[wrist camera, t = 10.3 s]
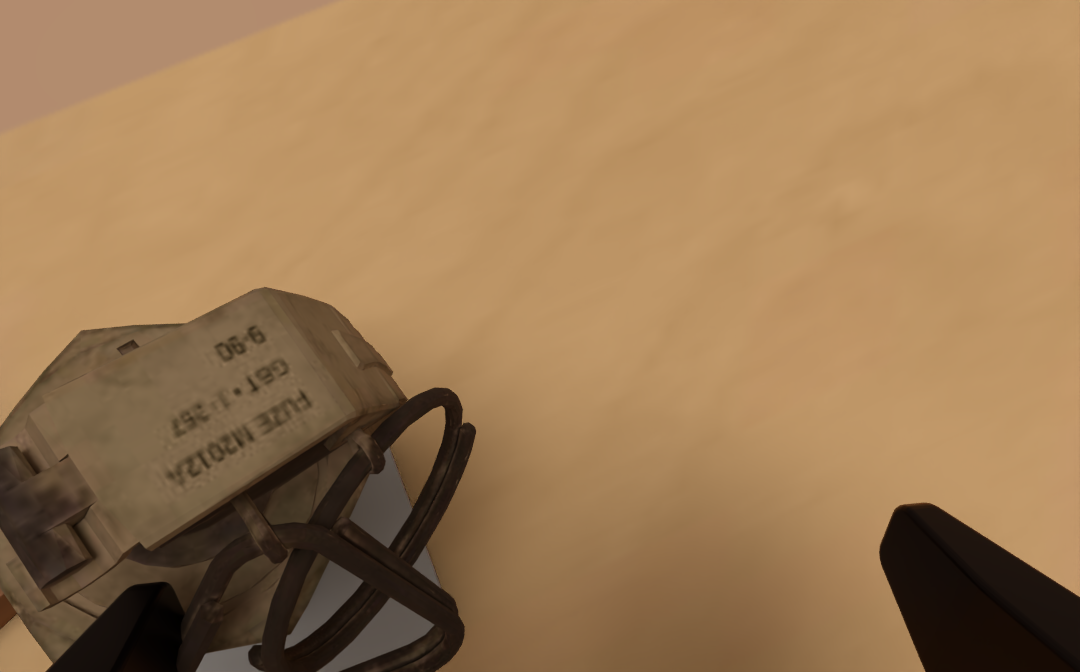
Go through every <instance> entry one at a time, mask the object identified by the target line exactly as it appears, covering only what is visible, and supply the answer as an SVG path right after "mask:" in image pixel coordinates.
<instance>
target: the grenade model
mask: <svg viewBox="0 0 1080 672" xmlns="http://www.w3.org/2000/svg"><path fill="white" fill-rule="evenodd" d="M392 373H393V371H392V370H391V368H390V367H389V366H388V364H387V363H386V362H385V360H384V359H383V358H382V356H381V355H380V354H379V353H378V352H376V351H375V349H374V348H373V346H372V345H370V344H369V343H368V342H366V341H365V340H364V338H363V337H362V336H361V334H360V333H359V332H358V331H357V330H356V329H355V328H354V327H353V326H352V324H351V323H350V322H349V320H348V319H347V318H346V317H344V316H343V315H342V314H341V313H340V312H338V311H337V310H336V309H335V308H334V307H333V306H331V305H329V304H327V303H324V302H321V301H318V300H315V299H312V298H309V297H306V296H302V295H298V294H293V293H289V292H285V291H280V290H276V289H271V288H267V287H264V288H259V289H254V290H252V291H250V292H248V293H246V294H244V295H242V296H240V297H238V298H236V299H234V300H232V301H230V302H228V303H226V304H224V305H222V306H220V307H218V308H216V309H214V310H212V311H210V312H208V313H206V314H204V315H202V316H200V317H198V318H196V319H194V320H192V321H190V322H188V323H184V324H155V325H132V326H122V327H112V328H102V329H93V330H83V331H80V333H79V334H78V335H77V336H76V337H75V338H74V339H73V340H72V341H71V342H70V343H69V344H68V345H67V347H66V348H65V349H64V350H63V351H62V352H61V353H60V354H59V355H58V356H57V357H56V358H55V360H54V361H53V362H52V363H51V364H50V365H49V366H48V367H47V368H46V369H45V370H44V371H43V373H42V374H41V375H40V376H39V378H38V379H37V380H36V381H35V383H34V384H33V385H32V386H31V388H30V389H29V390H28V391H27V393H26V394H25V395H24V396H23V398H22V399H21V400H20V401H19V403H18V404H17V405H16V406H15V408H14V409H13V410H12V412H11V413H10V414H9V416H8V417H7V418H6V420H5V421H4V423H3V424H2V425H1V427H0V589H1V590H2V592H3V593H4V595H5V596H6V598H7V599H8V601H9V602H10V603H11V605H12V606H13V608H14V609H15V611H16V612H17V614H18V615H19V617H20V618H21V620H22V621H23V623H24V624H25V626H26V627H27V629H28V630H29V632H30V633H31V634H32V636H33V637H34V638H35V640H36V641H37V642H38V644H39V645H40V646H41V648H42V649H43V650H44V652H45V653H46V654H47V656H48V657H49V658H50V660H51V661H52V662H53V663H54V662H55V661H56V660H57V659H58V658H59V657H60V656H61V655H62V654H63V653H64V652H65V651H66V650H67V649H68V648H69V647H70V646H71V645H72V644H73V643H74V642H75V641H76V640H77V639H78V638H79V637H80V636H81V634H82V633H83V632H84V631H85V630H86V629H87V628H88V627H89V626H90V625H91V624H92V623H93V622H94V621H95V620H96V619H97V618H98V617H99V616H100V615H101V614H102V613H103V612H104V611H105V610H106V609H107V608H108V607H109V606H110V605H111V604H112V603H113V601H114V600H115V599H116V598H117V597H118V596H119V595H120V594H121V593H122V592H123V591H124V590H126V589H127V588H129V587H130V586H132V585H136V584H143V583H152V582H167V583H169V584H170V585H172V587H173V588H174V590H175V592H176V595H177V597H178V599H179V601H180V603H181V605H182V608H183V610H184V612H185V615H184V617H183V619H182V622H181V638H182V644H181V646H180V648H179V650H178V656H177V663H176V666H177V670H178V672H196V670H197V668H198V667H199V665H200V663H201V661H202V659H203V657H204V655H205V654H206V653H211V652H216V651H222V650H227V649H232V648H237V647H242V646H248V645H253V644H258V643H262V645H253V646H252V648H251V649H250V650H249V652H248V660H249V662H250V665H252V666H253V667H255V668H256V669H258V670H259V671H263V672H317V671H319V670H320V669H321V668H323V667H324V666H325V665H327V664H328V663H329V662H331V661H332V660H333V659H334V658H335V657H336V656H337V655H339V654H340V653H341V652H342V651H343V650H344V649H345V648H346V647H347V646H348V645H349V644H351V643H352V642H353V641H354V640H355V638H356V637H357V636H358V635H359V634H360V633H361V632H362V630H363V629H364V628H365V627H366V626H367V625H368V624H369V622H370V621H371V620H372V619H373V618H374V617H375V616H376V615H377V613H378V612H379V611H380V610H381V609H382V607H383V606H384V605H385V604H386V602H387V601H388V600H389V598H392V599H394V600H395V601H397V602H398V603H400V604H402V605H403V606H405V607H407V608H408V609H410V610H411V611H413V612H415V613H416V614H418V615H419V616H421V617H423V618H424V619H426V620H428V621H429V622H431V623H432V624H434V626H433V627H432V628H431V629H430V630H429V631H428V632H427V633H426V635H424V636H422V637H420V638H419V639H417V640H415V641H413V642H412V643H410V644H408V645H405V646H403V647H400V648H398V649H395V650H393V651H390V652H387V653H385V654H382V655H380V656H377V657H375V658H372V659H370V660H367V661H365V662H362V663H359V664H357V665H354V666H352V667H349V668H347V669H344V670H342V671H339V672H435V671H437V670H438V669H439V668H441V667H442V666H443V665H445V664H446V663H448V662H449V661H450V660H451V659H452V658H453V657H454V655H455V654H456V653H457V651H458V650H459V648H460V647H461V645H462V642H463V639H464V624H463V622H462V621H461V619H460V617H459V616H458V609H457V606H456V602H455V600H454V599H453V598H452V597H451V595H449V594H448V593H447V592H445V591H444V590H443V589H441V588H440V587H439V586H437V585H436V584H435V583H433V582H432V581H431V580H429V579H428V578H427V577H425V576H424V575H423V574H421V573H420V572H419V571H417V570H416V569H415V568H413V567H412V566H413V565H414V563H415V562H416V561H417V559H418V557H419V556H420V554H421V552H422V551H423V549H424V547H425V546H426V544H427V542H428V541H429V539H430V537H431V535H432V534H433V532H434V530H435V529H436V527H437V525H438V523H439V522H440V520H441V518H442V516H443V515H444V513H445V511H446V509H447V507H448V505H449V503H450V501H451V499H452V497H453V495H454V493H455V490H456V488H457V486H458V484H459V481H460V479H461V477H462V475H463V472H464V470H465V467H466V465H467V462H468V459H469V456H470V454H471V451H472V447H473V443H474V439H475V435H476V429H475V427H474V426H473V425H472V424H470V423H463V425H462V411H463V409H462V406H461V403H460V400H459V398H458V396H457V395H456V394H455V393H454V392H452V391H451V390H450V389H447V388H432V389H430V390H428V391H425V392H423V393H420V394H418V395H416V396H414V397H412V398H411V399H410V400H408V399H407V398H406V396H405V395H404V394H403V392H402V391H401V389H400V388H399V387H398V385H397V384H396V382H395V381H394V380H393V378H392V377H391V376H392ZM407 400H408V401H407ZM406 401H407V402H406ZM438 406H443V407H444V408H445V418H446V424H445V430H444V435H443V440H442V444H441V447H440V449H439V452H438V455H437V458H436V460H435V463H434V466H433V469H432V472H431V474H430V476H429V478H428V480H427V482H426V484H425V486H424V488H423V490H422V492H421V494H420V496H419V497H418V499H417V501H416V503H415V505H414V507H413V509H412V511H411V513H410V515H409V516H408V518H407V520H406V521H405V523H404V524H403V526H402V527H401V529H400V530H399V532H398V534H397V535H396V537H395V538H394V540H393V541H392V543H391V544H390V546H389V548H387V547H386V546H384V545H383V544H382V543H380V542H379V541H378V540H376V539H375V538H374V537H372V536H371V535H370V534H369V533H367V532H366V531H365V530H363V529H362V528H361V527H359V526H358V525H357V524H355V523H354V522H353V521H351V520H350V519H349V518H350V516H351V514H352V512H353V510H354V508H355V506H356V503H357V501H358V499H359V497H360V495H361V492H362V490H363V488H364V486H365V484H366V481H367V479H368V477H369V475H370V474H379V473H380V472H381V471H383V470H384V466H385V463H386V460H385V457H384V453H385V451H386V450H387V449H388V448H389V447H390V446H391V445H392V444H393V443H394V442H395V440H396V439H397V438H398V437H399V436H400V435H401V434H402V433H403V432H404V430H405V429H406V428H407V427H408V426H409V425H411V424H412V423H413V422H415V421H416V420H418V419H419V418H420V417H422V416H423V415H425V414H426V413H427V412H429V411H430V410H432V409H433V408H436V407H438ZM436 495H437V496H436ZM435 497H436V498H435ZM428 510H429V511H428ZM330 560H331V561H332V562H334V563H335V564H337V565H339V566H340V567H342V568H343V569H345V570H347V571H348V572H350V573H352V574H353V575H355V576H356V577H358V578H360V579H361V580H363V582H362V583H361V585H360V586H359V587H358V589H357V590H356V591H355V592H354V594H353V595H352V596H351V597H350V598H349V599H348V600H347V601H346V602H345V603H344V604H343V605H342V606H341V607H340V608H339V609H338V610H337V611H336V612H335V613H334V614H333V615H332V616H331V617H330V619H329V620H328V621H327V622H325V623H324V624H323V625H322V626H320V627H319V628H318V629H317V630H315V631H314V632H313V633H312V634H310V635H309V636H308V637H306V638H305V639H303V640H302V641H300V642H299V643H297V644H295V645H294V646H291V647H289V648H286V649H284V648H285V643H286V638H287V635H290V634H291V633H292V631H293V630H294V628H295V626H296V625H297V623H298V621H299V620H300V618H301V616H302V615H303V613H304V611H305V609H306V608H307V606H308V604H309V602H310V600H311V598H312V596H313V594H314V592H315V590H316V588H317V586H318V583H319V581H320V579H321V577H322V575H323V573H324V571H325V569H326V567H327V565H328V563H329V561H330Z"/></svg>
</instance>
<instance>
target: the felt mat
mask: <svg viewBox="0 0 1080 672" xmlns="http://www.w3.org/2000/svg"><path fill="white" fill-rule="evenodd" d="M384 457H385V460H386V463H385V466H384V470H383V471H381V472H380V473H379V474H370V475H369V477H368V479H367V481H366V484H365V486H364V488H363V490H362V492H361V495H360V497H359V499H358V501H357V503H356V506H355V508H354V510H353V512H352V514H351V516H350V518H349V519H350V520H351V521H353V522H354V523H355V524H357V525H358V526H359V527H361V528H362V529H363V530H365V531H366V532H367V533H369V534H370V535H371V536H372V537H374V538H375V539H376V540H378V541H379V542H380V543H382V544H383V545H384V546H386V547H387V548H389V546H390V544H391V543H392V541H393V540H394V538H395V537H396V535H397V534H398V532H399V530H400V529H401V527H402V526H403V524H404V523H405V521H406V520H407V518H408V516H409V515H410V513H411V511H412V506H411V503H410V501H409V498H408V495H407V493H406V490H405V487H404V484H403V482H402V479H401V476H400V474H399V471H398V468H397V465H396V463H395V460H394V457H393V454H392V452H391V449H390V447H389V448H388V449H387V450H386V451H385V453H384ZM412 567H413V568H415V569H416V570H417V571H419V572H420V573H421V574H423V575H424V576H425V577H427V578H428V579H429V580H431V581H432V582H433V583H435V584H436V585H437V586H439V587H440V588H441V585H440V582H439V579H438V577H437V574H436V571H435V569H434V566H433V563H432V560H431V558H430V555H429V552H428V550H427V547H426V546H425V547H424V549H423V551H422V552H421V554H420V556H419V557H418V559H417V561H416V562H415V563H414V565H413V566H412ZM362 582H363V580H361V579H360V578H358V577H356V576H355V575H353V574H352V573H350V572H348V571H347V570H345V569H343V568H342V567H340V566H339V565H337V564H335V563H334V562H332V561H331V560H330V561H329V563H328V565H327V567H326V569H325V571H324V573H323V575H322V577H321V579H320V581H319V583H318V586H317V588H316V590H315V592H314V594H313V596H312V598H311V600H310V602H309V604H308V606H307V608H306V609H305V611H304V613H303V615H302V616H301V618H300V620H299V621H298V623H297V625H296V626H295V628H294V630H293V631H292V633H291V634H290V635H287V638H286V643H285V648H284V649H286V648H289V647H291V646H294V645H295V644H297V643H299V642H300V641H302V640H303V639H305V638H306V637H308V636H309V635H310V634H312V633H313V632H314V631H315V630H317V629H318V628H319V627H320V626H322V625H323V624H324V623H325V622H327V621H328V620H329V619H330V617H331V616H332V615H333V614H334V613H335V612H336V611H337V610H338V609H339V608H340V607H341V606H342V605H343V604H344V603H345V602H346V601H347V600H348V599H349V598H350V597H351V596H352V595H353V594H354V592H355V591H356V590H357V589H358V587H359V586H360V585H361V583H362ZM441 589H442V588H441ZM433 626H434V624H432V623H431V622H429V621H428V620H426V619H424V618H423V617H421V616H419V615H418V614H416V613H415V612H413V611H411V610H410V609H408V608H407V607H405V606H403V605H402V604H400V603H398V602H397V601H395V600H394V599H392V598H389V600H388V601H387V602H386V604H385V605H384V606H383V607H382V609H381V610H380V611H379V612H378V613H377V615H376V616H375V617H374V618H373V619H372V620H371V621H370V622H369V624H368V625H367V626H366V627H365V628H364V629H363V630H362V632H361V633H360V634H359V635H358V636H357V637H356V638H355V640H354V641H353V642H352V643H351V644H349V645H348V646H347V647H346V648H345V649H344V650H343V651H342V652H341V653H340V654H339V655H337V656H336V657H335V658H334V659H333V660H332V661H331V662H329V663H328V664H327V665H325V666H324V667H323V668H321V669H320V670H319V671H317V672H339V671H342V670H344V669H347V668H349V667H352V666H354V665H357V664H359V663H362V662H365V661H367V660H370V659H372V658H375V657H377V656H380V655H382V654H385V653H387V652H390V651H393V650H395V649H398V648H400V647H403V646H405V645H408V644H410V643H412V642H413V641H415V640H417V639H419V638H420V637H422V636H424V635H426V633H427V632H428V631H429V630H430V629H431V628H432V627H433ZM253 645H262V643H258V644H253ZM253 645H248V646H242V647H237V648H232V649H227V650H222V651H216V652H211V653H206V654H205V655H204V657H203V659H202V661H201V663H200V665H199V667H198V668H197V670H196V672H263V671H259V670H258V669H256V668H255V667H253V666H252V665H250V662H249V660H248V652H249V650H250V649H251V648H252V646H253Z"/></svg>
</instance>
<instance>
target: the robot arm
mask: <svg viewBox="0 0 1080 672" xmlns="http://www.w3.org/2000/svg"><path fill="white" fill-rule="evenodd" d="M879 554H880V561H881V565H882V568H883V570H884V573H885V575H886V577H887V580H888V582H889V585H890V587H891V590H892V592H893V594H894V597H895V599H896V602H897V604H898V607H899V609H900V612H901V614H902V616H903V619H904V621H905V624H906V626H907V629H908V631H909V633H910V636H911V638H912V641H913V643H914V646H915V648H916V650H917V653H918V655H919V658H920V660H921V662H922V665H923V667H924V669H925V671H926V672H1080V597H1079V596H1077V595H1076V594H1074V593H1073V592H1071V591H1069V590H1068V589H1066V588H1065V587H1063V586H1062V585H1060V584H1058V583H1057V582H1055V581H1054V580H1052V579H1051V578H1049V577H1047V576H1046V575H1044V574H1043V573H1041V572H1040V571H1038V570H1036V569H1035V568H1033V567H1032V566H1030V565H1029V564H1027V563H1025V562H1024V561H1022V560H1021V559H1019V558H1018V557H1016V556H1014V555H1013V554H1011V553H1010V552H1008V551H1007V550H1005V549H1003V548H1002V547H1000V546H999V545H997V544H996V543H994V542H992V541H991V540H989V539H988V538H986V537H985V536H983V535H981V534H980V533H978V532H977V531H975V530H974V529H972V528H970V527H969V526H967V525H966V524H964V523H963V522H961V521H959V520H958V519H956V518H955V517H953V516H952V515H950V514H948V513H947V512H945V511H944V510H942V509H941V508H939V507H937V506H935V505H933V504H930V503H915V504H905V505H900V506H898V507H897V508H896V509H895V510H894V512H893V514H892V516H891V519H890V522H889V524H888V527H887V529H886V532H885V534H884V537H883V539H882V542H881V544H880V551H879ZM184 615H185V612H184V610H183V608H182V605H181V603H180V601H179V599H178V597H177V595H176V592H175V590H174V588H173V587H172V585H170V584H169V583H167V582H152V583H143V584H136V585H132V586H130V587H129V588H127V589H126V590H124V591H123V592H122V593H121V594H120V595H119V596H118V597H117V598H116V599H115V600H114V601H113V603H112V604H111V605H110V606H109V607H108V608H107V609H106V610H105V611H104V612H103V613H102V614H101V615H100V616H99V617H98V618H97V619H96V620H95V621H94V622H93V623H92V624H91V625H90V626H89V627H88V628H87V629H86V630H85V631H84V632H83V633H82V634H81V636H80V637H79V638H78V639H77V640H76V641H75V642H74V643H73V644H72V645H71V646H70V647H69V648H68V649H67V650H66V651H65V652H64V653H63V654H62V655H61V656H60V657H59V658H58V659H57V660H56V661H55V662H54V663H53V664H52V665H51V666H50V667H49V669H48V670H47V671H46V672H178V670H177V666H176V663H177V656H178V650H179V648H180V646H181V644H182V638H181V622H182V619H183V617H184Z"/></svg>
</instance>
